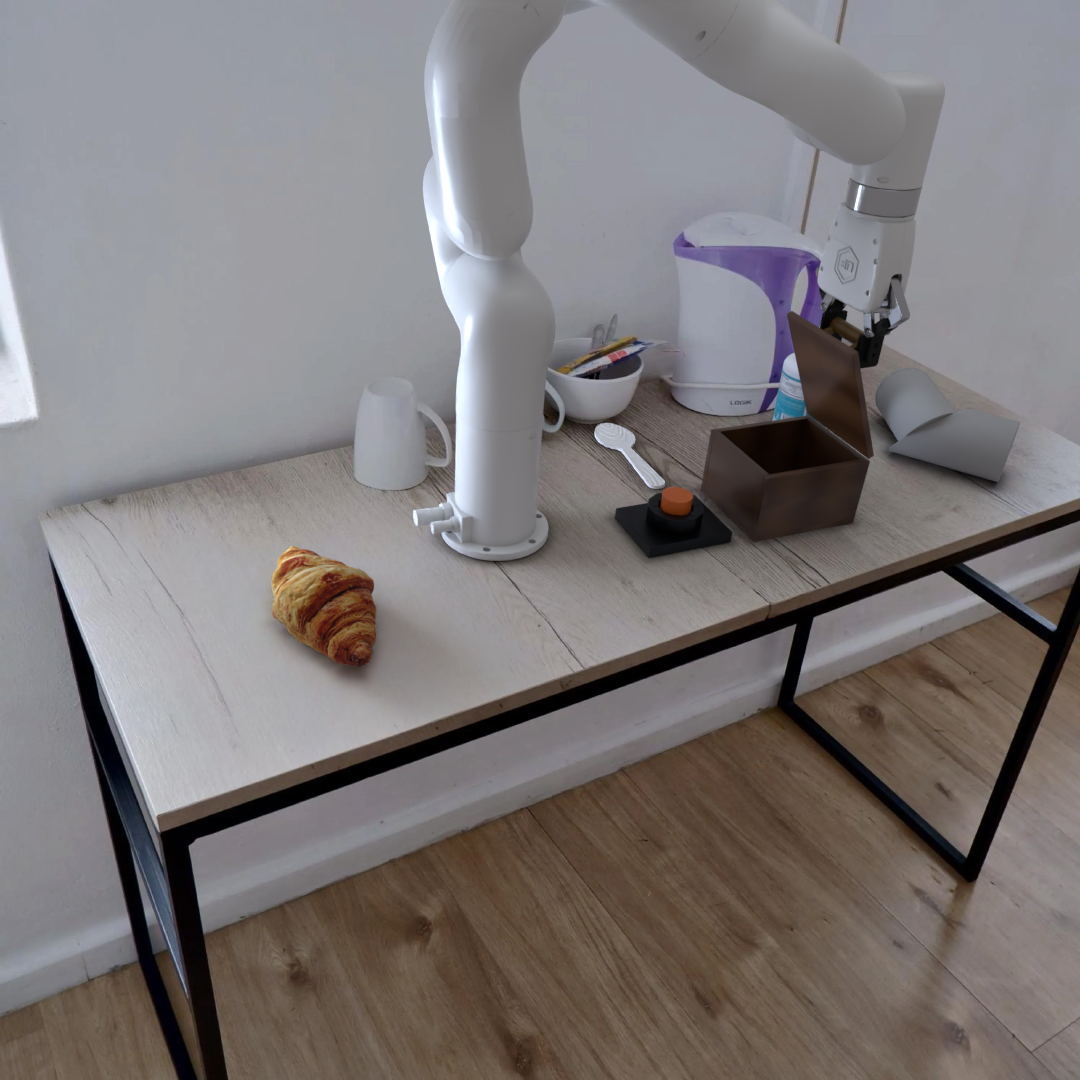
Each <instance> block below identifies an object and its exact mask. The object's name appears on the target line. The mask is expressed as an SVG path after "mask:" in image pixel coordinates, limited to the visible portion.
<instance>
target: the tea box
mask: <svg viewBox="0 0 1080 1080" xmlns="http://www.w3.org/2000/svg"><path fill="white" fill-rule="evenodd" d="M772 420H773V419H772ZM772 420H768V421H761V422H754V423H747V424H740V425H733V426H727V427H720V428H713V429H711V430H710V432H709V433H710V434H709V439H708V446H707V450H706V457H705V463H704V468H703V474H702V481H701V486H700V492H701V493H702V494H704V495H705V496H706V497H707V498H708V499H709V501H711V502H712V503H713V504H714V505H715V506H716V507H717V508H718V510H720V511H721V512H722V513H723V514H724V515H725V516H726V517H727V518H728V519H729V520H730V521H731V522H732V523H733V524H734V525H735V526H737V528H738V529H739V530H740V531H741V532H743V534H744V535H746V537H748V539H750V540H751V541H752V542H753V543H758V542H762V541H768V540H773V539H778V538H784V537H789V536H793V535H799V534H805V533H808V532H813V531H818V530H823V529H829V528H834V527H840V526H844V525H849V524H850V525H851V524H853V523H854V521H855V517H856V513H857V510H858V507H859V504H860V499H861V495H862V492H863V490H864V486H865V481H866V477H867V475H868V472H869V467H870V463H871V460H869V459H868V458H867V457H865V456H864V455H863V454H861V453H860V452H858V451H857V450H856V449H854V448H853V447H852V446H850V445H849V444H848V443H846V442H845V441H844V440H842V439H841V438H840V437H838V436H837V435H836V434H834V433H833V432H832V431H830V430H829V429H827V428H826V427H823V426H822V425H821V424H819V423H818V422H817V421H815V420H814V419H813V418H811V417H810V416H809V415H807V416H801V417H794V418H787V419H780V420H773V421H772Z"/></svg>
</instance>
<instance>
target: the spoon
mask: <svg viewBox="0 0 1080 1080" xmlns="http://www.w3.org/2000/svg"><path fill="white" fill-rule="evenodd" d="M594 439H595V440H596V441H597V442H598V443H599V444H600V445H601V446H603V447H605V448H608V449H611V450H617V451H619V452H621V454H622V455H623V456H624V457H625V458H626V460H627V461H628V462H629V464H630V465H631V467H632V468H633V469H634V470H635V472H636V473H637V474H638V476H639V477H640V478H641V479H642V481H643V482H644V483H645V485H646V486H647V487H648V488H651V489H654V490H660V489H663V488H665V486H666V481H665V479H664V478H662V476H660V475H659V473H658V472H656V470H654V469H653V467H651V466H650V464H648V463H647V462H646V461H645V460H644V459H643V458H642V457H641V456H640V454H638V453H637V452H636V451H635V450H634V449H633V448H634V446H635V445H636V436H635V435H634V433H633V432H632V431H631V430H629V429H627V428H626V427H623V426H622V425H619V424H615V423H613V422H612V423H611V422H601V423H598V424H597V425H596V426H595V429H594Z"/></svg>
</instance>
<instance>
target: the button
mask: <svg viewBox="0 0 1080 1080" xmlns="http://www.w3.org/2000/svg"><path fill="white" fill-rule="evenodd" d="M661 493H662V499H661V505H660V508H661V510H662V511H664V512H666V513H668V514H671V515H680V516H681V515H687V514H689V513H690V511H691V506H692V500H693V495H694V494H693V493H692V492H691V491H690V490H688V489H687V488H685V487H679V486H670V487H669V486H668V487H666V488H665V489H663V490H662V492H661Z"/></svg>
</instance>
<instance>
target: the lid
mask: <svg viewBox="0 0 1080 1080" xmlns="http://www.w3.org/2000/svg"><path fill="white" fill-rule="evenodd" d="M786 318H787V322H788V327H789V332H790V337H791V342H792V346H793V353H795V357H796V362H797V367H798V372H799V377H800V382H801V387H802V391H803V396H804V401H805V406H806V411H807V414H809V415H810V416H811V417H813V418H814V419H815V420H817V421H818V422H819V423H821V424H822V425H823V426H825V428H826V429H827V430H829V431H830V432H832V433H833V434H834V435H836V436H837V437H838V438H840V439H841V440H842V441H844V442H845V443H846V444H848V445H849V446H850V447H852V448H853V449H854V450H856V451H857V452H858V453H860V454H861V455H862V456H864V457H865V458H867V459H868V460H869V459H871V458H874V456H875V454H874V448H873V441H872V435H871V428H870V421H869V416H868V408H867V402H866V395H865V390H864V382H863V376H862V370H861V369H862V368H861V369H860V362H859V356H858V352H857V351H856V346H857V342H858V338H859V335H861V334H864V330H862V329H860V328H859V327H857V326H855V325H853V324H852V323H850V322H849V321H847V320H846V321H845V320H843V319H842V318H840V317H836V318H834V319H833V320H832V321H831V323H830V326H829V327H827V328H826V329H824V330H822V329H820V326H817V325H816V324H814V323H812V322H811V321H809V320H807V319H806V318H804V317H803V316H802V315H799V314H798V313H796V312H795V311H793V310H790V311H788V312H787V313H786ZM833 333H835V334H837V335H839V336H840V337H842V340H843V339H844V340H845V341H847V342H848V343H849V344H851V345H848V344H846V343H845V342H843V341H840V340H838V339H837V338H835V337H833V336H832V335H831V334H833Z"/></svg>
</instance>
